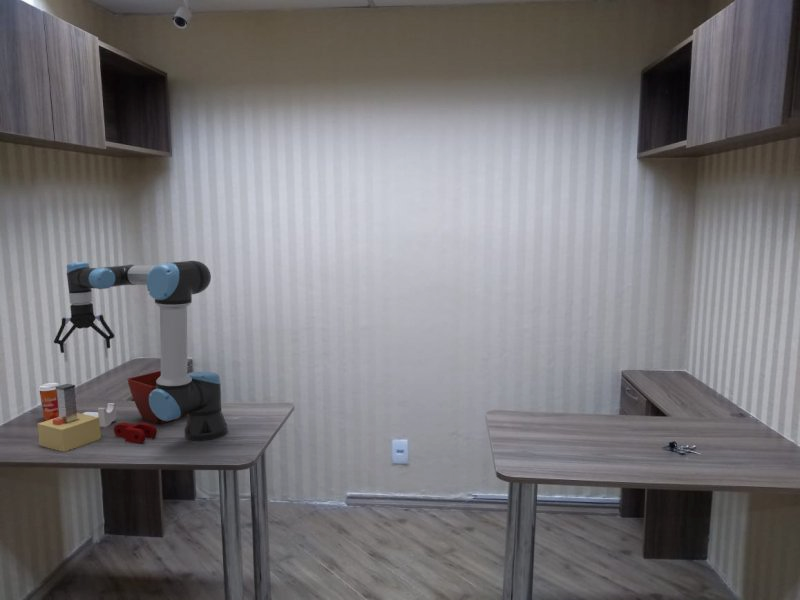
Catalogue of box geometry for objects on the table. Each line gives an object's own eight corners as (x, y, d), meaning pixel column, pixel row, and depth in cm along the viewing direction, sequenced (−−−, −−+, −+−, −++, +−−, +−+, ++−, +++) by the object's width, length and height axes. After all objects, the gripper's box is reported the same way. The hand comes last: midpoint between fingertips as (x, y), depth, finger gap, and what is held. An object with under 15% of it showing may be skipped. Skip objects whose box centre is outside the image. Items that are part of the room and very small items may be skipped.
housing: (100, 438, 219) (98, 413, 218) (64, 452, 207) (61, 425, 206) (76, 432, 226) (74, 408, 224) (39, 445, 214) (36, 419, 212)
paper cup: (37, 422, 238) (33, 387, 236) (47, 415, 246) (44, 382, 244) (57, 421, 238) (54, 387, 237) (67, 415, 246) (64, 382, 244)
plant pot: (155, 429, 229) (152, 386, 226) (129, 419, 240) (126, 378, 238) (199, 415, 244) (196, 375, 241) (172, 407, 255) (170, 368, 253)
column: (80, 440, 217) (75, 385, 214) (68, 445, 213) (63, 388, 210) (72, 438, 219) (67, 383, 217) (60, 443, 215) (55, 386, 213)
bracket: (116, 421, 238) (115, 403, 237) (105, 427, 232) (103, 408, 231) (86, 420, 240) (85, 402, 239) (74, 426, 234) (73, 407, 232)
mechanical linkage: (157, 438, 220) (156, 424, 219) (142, 444, 213) (141, 431, 213) (124, 432, 226) (123, 419, 225) (108, 439, 220) (107, 425, 219)
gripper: (118, 299, 234) (123, 353, 237) (44, 305, 224) (50, 360, 227) (117, 302, 227) (122, 357, 230) (41, 307, 217) (47, 364, 220)
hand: (86, 359), depth 228 cm, fingers open, 13 cm apart
